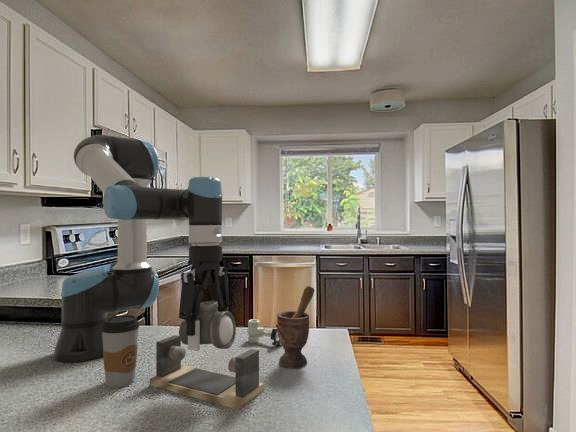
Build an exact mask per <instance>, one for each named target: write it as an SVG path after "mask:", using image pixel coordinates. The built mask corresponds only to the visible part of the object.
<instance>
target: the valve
mask: <svg viewBox="0 0 576 432" xmlns="http://www.w3.org/2000/svg"><path fill="white" fill-rule="evenodd" d="M247 324H248V325H247V331H246V332H247V335H248V336H247V337H248V338H247V341H248V343H251V344H255V343H259V342H260V338H264V337H268V338H270V340H271V341H273V342H272V343H271V345H272V346H274V347H275V346H276V347H278V348H279V347H280V346H281V344H280V339H279V337H278V332H277V325H278V324H276V325H275V328H272V329H271V330H266V328H264V327H260V319H255V318H253V319H249V320H248V322H247ZM277 339H278V340H277Z"/></svg>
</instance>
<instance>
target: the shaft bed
mask: <svg viewBox="0 0 576 432" xmlns="http://www.w3.org/2000/svg"><path fill="white" fill-rule="evenodd" d="M181 343H182V342H181V340H180V337H179V335H172V336H169V337H165V338H163V339H160V340H157V341H156V342H155V345H156V347H155V348H156V349H155V350H156V353H155V354H156V355H155V359H156V360H155V361H156V362H155V363H156V364H155V366H156V368H155V369H156V370H155V371H156V372H155V376H152V377H150V378H149V386H150V385H151V387H153V388H158V387H159V388H158V389H161V388H162V390H165V389H167V390H166V391H169V390H170V391H169V392H172V391H174V392H173V393H176V392H177V393H176V394H180V393H181V394H180V395H183V394H184V395H183V396H187V395H188V396H187V397H190V398H191V397H192V398H194V397H195V398H196V399H198V400H202V401H205V402H209V401H210V402H209V403H214V404H216V403H217V405H220V406H225V407H227V408H232V409H235V410H239V409H240V408H242V407H244V405H246V404H247V403H249V402H250V401H251V400H252V399H254V398H256V396H258V395H259V394H261V393H263V392H264V391H265V383H264V382H261V381H260V350H259V349H254V348H250V349H249V350H247V351H245V352H242V353H241V354H239V355H237V356H235V357H234V356H233V357H231V358H230V359H229V361H228V365H227V367H228V372H230V373H235V376H232V375H228V374H224V373H219V372H215V371H210V370H207V369H203V368H202V369H201V368H198V367H197V368H196V367H193V366H187V365H185V364H182V360H184V358H185V357H186V348H185V347H183V346H182V344H181ZM195 398H194V399H195Z"/></svg>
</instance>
